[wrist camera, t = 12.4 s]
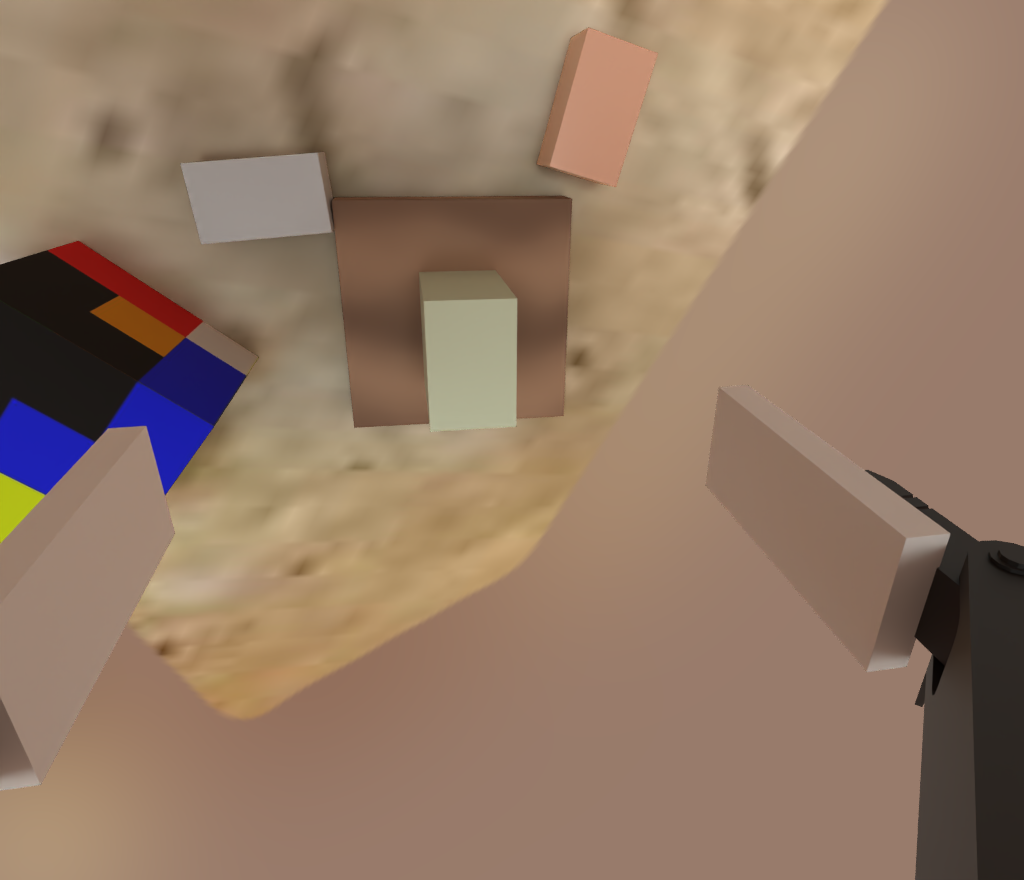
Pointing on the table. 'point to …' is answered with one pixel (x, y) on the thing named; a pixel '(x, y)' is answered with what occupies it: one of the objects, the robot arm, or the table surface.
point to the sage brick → (469, 349)
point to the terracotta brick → (596, 106)
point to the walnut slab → (448, 247)
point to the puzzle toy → (99, 371)
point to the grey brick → (260, 197)
